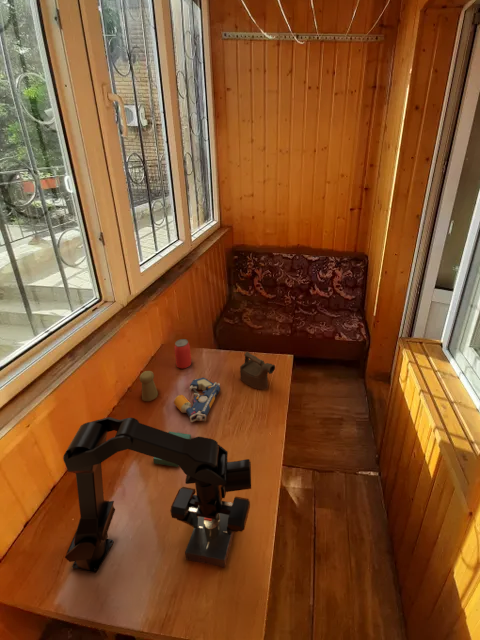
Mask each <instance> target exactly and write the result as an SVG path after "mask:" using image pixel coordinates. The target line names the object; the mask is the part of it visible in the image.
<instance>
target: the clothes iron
mask: <svg viewBox="0 0 480 640" xmlns="http://www.w3.org/2000/svg"><path fill="white" fill-rule="evenodd" d="M275 370H276V366H275V364H272V363H270V362H269V363H268V362H265V361H264V360H263V359H260V358H259V357H257V356H256V355H253V354H252V353H250V352H249V351H245V353H244V363H243V364H241V365H240V367H239V371H240V372H239V376H240V378H239V379H240V380H241V382H242V383H244V384H246V385H248V386H249V387H251V388H253V389H257V390H267V389H268V388H269V382H268V374H269V375H272V374H273V373H274V371H275Z"/></svg>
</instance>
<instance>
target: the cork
mask: <svg viewBox="0 0 480 640" xmlns="http://www.w3.org/2000/svg"><path fill="white" fill-rule="evenodd" d="M154 378H155V374H154V372H153V371H152V370H145V371H143V372H142V373H141V374H140V375H139V381H140V383H141V400H142V401H143V402H151V401H153V400H156V399H157V397H158V395H159V392H158V388H157V387H156V386H157V385H156V383H155V381H154Z"/></svg>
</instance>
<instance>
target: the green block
mask: <svg viewBox="0 0 480 640" xmlns="http://www.w3.org/2000/svg"><path fill="white" fill-rule="evenodd" d="M168 433H171V434H174V435H177V436H180V437H183V438H186V439H192V434H189V433H183V432H176V431H170V430H169V431H168ZM152 458H153V463H154V464H155V465H161V466H168V467H176V468H178V467H179V465H177V464H175V463H171V462H168V461H165V460H162V459H159V458H155V457H152Z"/></svg>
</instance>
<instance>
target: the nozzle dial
mask: <svg viewBox="0 0 480 640" xmlns="http://www.w3.org/2000/svg"><path fill="white" fill-rule="evenodd" d="M204 529H205V535H206V537H207V538H209V539H213V538H215V537H217V536H218V535H219V533H220V530H221V524H220V515H219V513H218V514H217V516H216V519H210V518H205V517H204Z"/></svg>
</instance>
